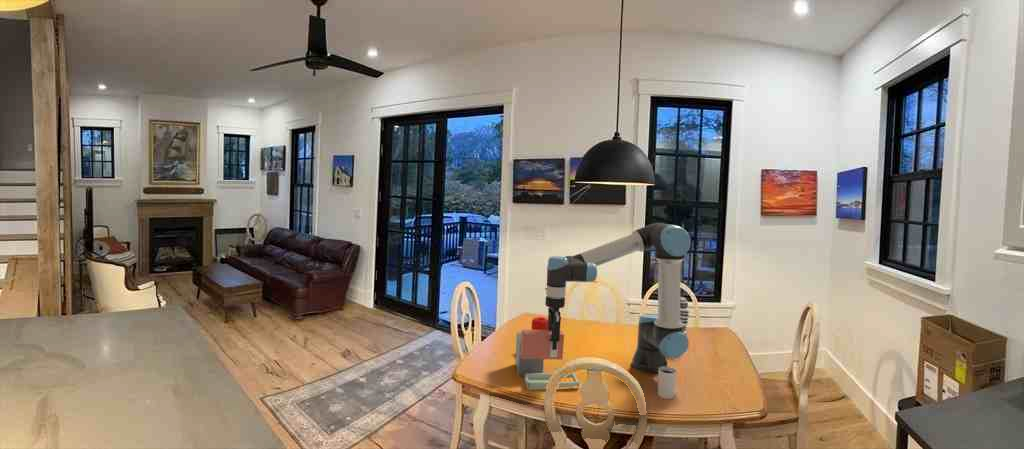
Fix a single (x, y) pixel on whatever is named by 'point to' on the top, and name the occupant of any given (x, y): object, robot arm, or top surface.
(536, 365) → the dispenser
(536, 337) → the pink rectangular box
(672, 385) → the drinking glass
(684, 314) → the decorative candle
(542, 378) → the tray
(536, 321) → the apple
